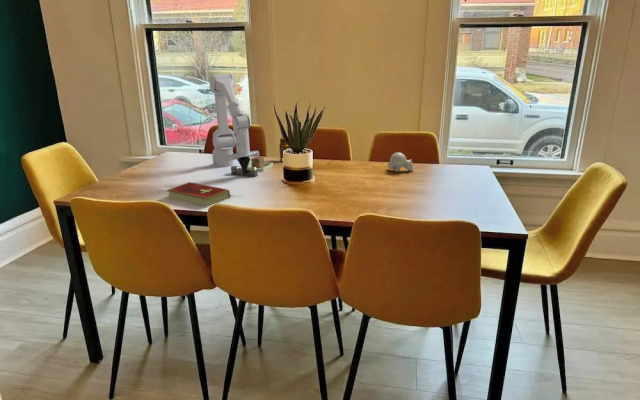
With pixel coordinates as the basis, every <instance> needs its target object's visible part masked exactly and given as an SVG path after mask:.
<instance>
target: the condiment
mask: <svg viewBox="0 0 640 400" xmlns="http://www.w3.org/2000/svg"><path fill="white" fill-rule="evenodd" d="M284 138H285V137H282V138H280V139H279V140H280V142H279V162H282V158H283V151H284V150H286V149H287V148H288V145H287V143H286V142H285V140H284Z"/></svg>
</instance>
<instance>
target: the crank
mask: <svg viewBox="0 0 640 400" xmlns="http://www.w3.org/2000/svg"><path fill="white" fill-rule="evenodd" d="M251 168H252V169H247V174H243V172H242V168H241V167H240V166H239V165H233V166H230V173H231V175H239V176H240V175H241V176H246V177H253V178H255V177H258V176H259V175H258V173H259V171H257V170H256V167H252V166H251Z"/></svg>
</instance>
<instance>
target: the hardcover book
mask: <svg viewBox="0 0 640 400" xmlns="http://www.w3.org/2000/svg"><path fill="white" fill-rule="evenodd" d="M167 192H168V195H169V199H170V198H172V199H171V200H175V199H177V200H176V201H179V200H181V201H180V202H183V201H186V202H185V203H188V202H190V203H189V204H192V203H194V204H193V205H197V204H199V205H198V206H201V205H204V206H203V207H206V206H209V207H211V206H210V205H212V204H214V205H216V204H218V203H220V202H223V201H226V200H228V199H231V194H230V193H231V192H230V190H229V189H227V188H222V187H217V186H211V185H207V184H202V183H201V184H200V183H196V182H190V181H188V182H187V183H183V184H180V185H177V186H175V187H172V188H170V189H169V188H168V189H167ZM215 203H216V204H215ZM212 206H213V205H212Z"/></svg>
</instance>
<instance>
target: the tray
mask: <svg viewBox="0 0 640 400" xmlns="http://www.w3.org/2000/svg"><path fill="white" fill-rule="evenodd" d="M272 167H274V162H266V161H264V167H263V168H256V170H257V172H265V171H267V170H268V169H270V168H272ZM247 169H252V163H251V162H249V164H248V167H247Z"/></svg>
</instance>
